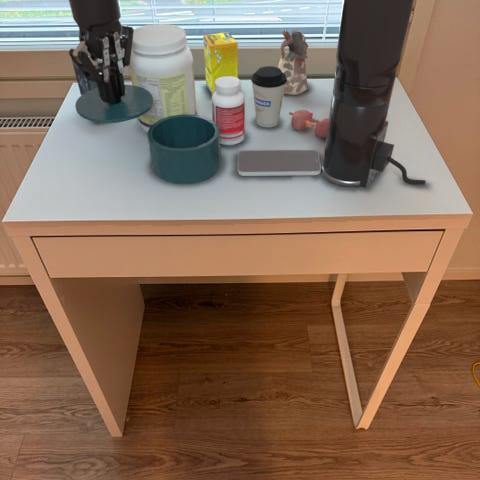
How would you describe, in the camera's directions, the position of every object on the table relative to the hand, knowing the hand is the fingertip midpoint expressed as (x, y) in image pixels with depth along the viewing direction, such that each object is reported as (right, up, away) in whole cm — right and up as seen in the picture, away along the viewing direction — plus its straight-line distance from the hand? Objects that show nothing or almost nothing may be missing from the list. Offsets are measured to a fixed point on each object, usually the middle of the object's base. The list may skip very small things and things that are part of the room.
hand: (114, 98), depth 87 cm
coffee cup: (+28, +2, +15) cm, 32 cm away
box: (-7, +5, +18) cm, 20 cm away
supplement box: (+18, +12, +24) cm, 33 cm away
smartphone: (+29, -11, +4) cm, 31 cm away
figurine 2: (+39, +2, +14) cm, 42 cm away
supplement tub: (+7, +1, +15) cm, 17 cm away
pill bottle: (+20, -3, +11) cm, 23 cm away
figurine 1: (+34, +14, +25) cm, 44 cm away
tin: (+12, -10, +5) cm, 17 cm away
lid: (0, -1, +1) cm, 1 cm away
